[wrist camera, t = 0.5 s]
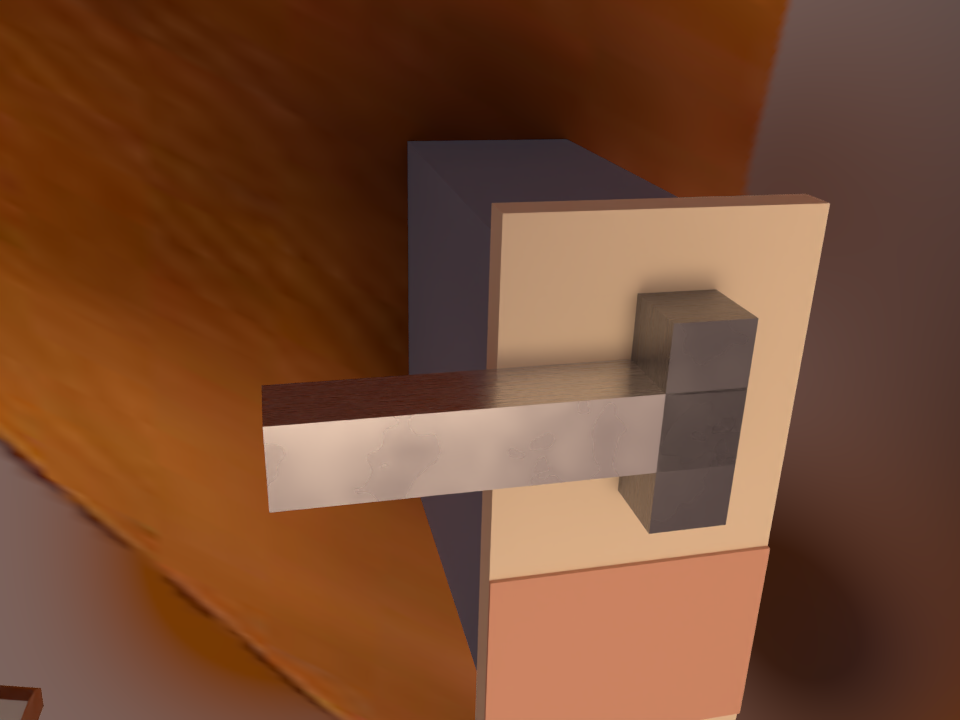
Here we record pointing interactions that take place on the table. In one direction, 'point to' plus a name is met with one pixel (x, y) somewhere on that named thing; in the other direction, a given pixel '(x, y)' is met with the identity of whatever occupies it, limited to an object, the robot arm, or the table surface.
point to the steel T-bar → (534, 423)
